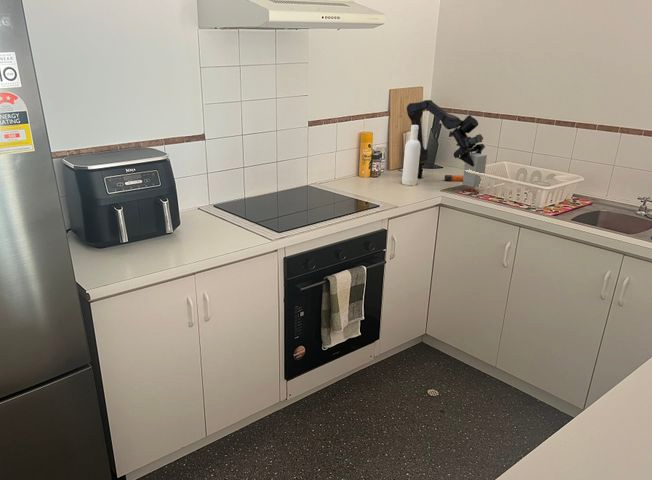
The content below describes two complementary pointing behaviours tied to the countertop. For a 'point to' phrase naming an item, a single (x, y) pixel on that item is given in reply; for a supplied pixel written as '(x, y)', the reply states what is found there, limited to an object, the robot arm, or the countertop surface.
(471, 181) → the cosmetic box
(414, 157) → the bottle
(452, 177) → the orange marker
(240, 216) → the countertop surface
